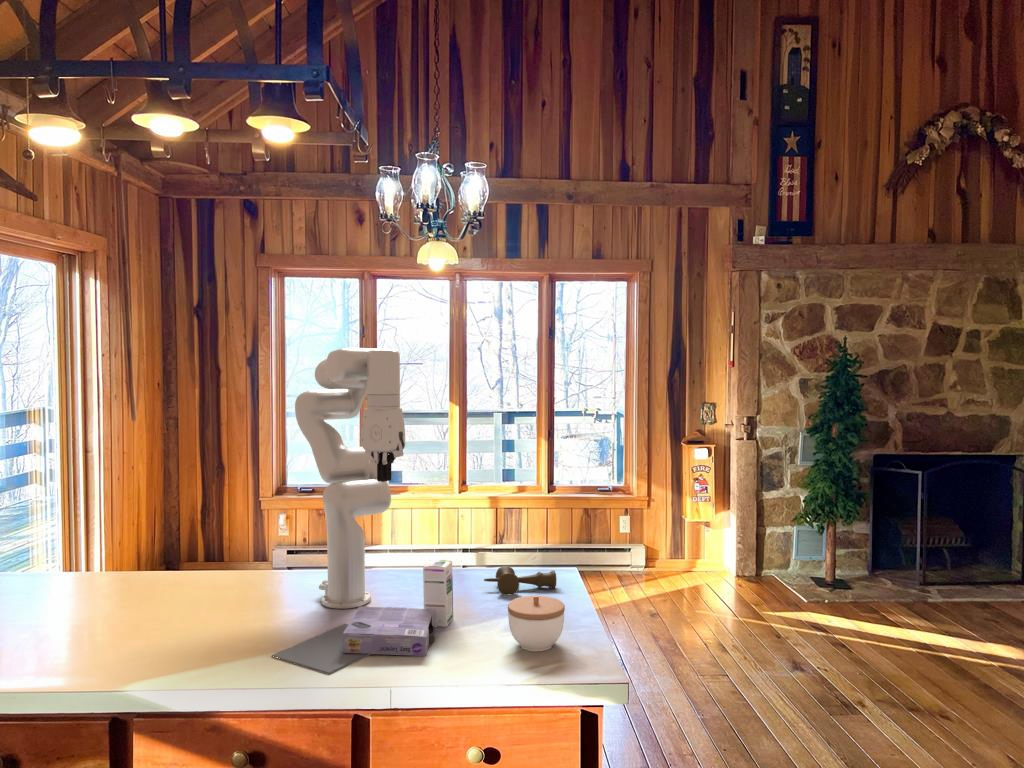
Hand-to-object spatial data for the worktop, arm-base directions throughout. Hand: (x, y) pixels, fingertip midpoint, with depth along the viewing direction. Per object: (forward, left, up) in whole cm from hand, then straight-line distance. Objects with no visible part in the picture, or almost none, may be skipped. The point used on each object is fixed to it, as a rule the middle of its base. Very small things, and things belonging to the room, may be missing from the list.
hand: (384, 480), depth 175 cm
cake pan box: (+11, -12, -33) cm, 37 cm away
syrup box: (+8, +10, -35) cm, 38 cm away
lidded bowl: (+35, +10, -35) cm, 51 cm away
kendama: (+11, +43, -36) cm, 57 cm away
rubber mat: (-1, -14, -35) cm, 38 cm away
